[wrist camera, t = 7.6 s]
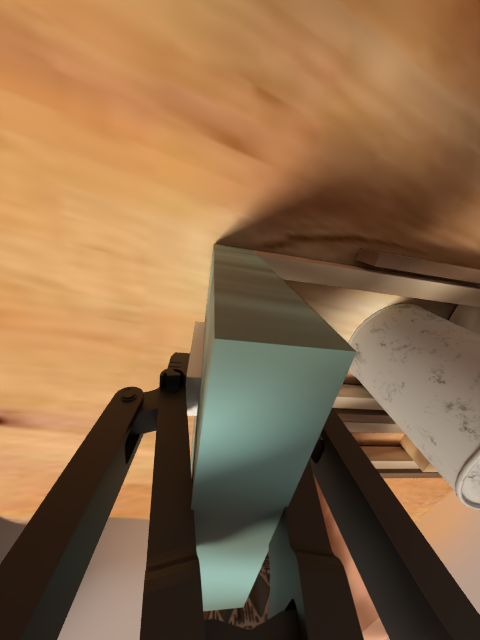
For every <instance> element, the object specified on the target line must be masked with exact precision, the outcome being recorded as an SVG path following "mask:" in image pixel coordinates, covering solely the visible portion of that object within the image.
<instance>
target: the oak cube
mask: <svg viewBox="0 0 480 640" xmlns="http://www.w3.org/2000/svg"><path fill="white" fill-rule="evenodd" d="M399 443H400V444H401V445H402V447H403V448H404V449H405V450H406V452H407V453H408V454H409V455H410V457H411V458H412V459H413V460H414V462H415V463H416V464H417V465H418V467H419V468H420V469H421V470H422V472H438V471H437V470H436V469H435V468H434V467H433V466H432V464H431V463H430V462H429V461H428V460H427V459H426V457H425V456H424V455H423V454H422V453H421V452H420V450H419V449H418V448H417V447H416V446H415V445H414V444H413V442H412V441H411V440H410V439H409V438H408V437H407V435H406V434H405V435H404V436H403V438H402V439H401V441H400V442H399Z"/></svg>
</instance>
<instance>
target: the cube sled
mask: <svg viewBox="0 0 480 640" xmlns="http://www.w3.org/2000/svg"><path fill="white" fill-rule="evenodd" d="M342 422H343V423H344V424H345V426H346V427H347V429H348V430H349V431H350V432H363V433H399V434H405V433H404V432H403V431H402V430H401V428H400V427H399V426H398V425H397V424H396V423H383V422H355V421H342ZM360 447H361V448H362V450H363V451H364V453H365V454H366V455H367V457H368V458H369V460H370V461H371V462H372V464H373V465H374V467H375V468H376V469H420V468H419V467H418V465H417V464H416V463H415V462H414V460H413V459H412V458H411V457H410V455H409V454H408V453H407V452H406V450H405V449H404V448H403V447H377V446H360ZM313 475H314V474H313ZM314 480H315V484H316V488H317V492H318V496H319V500H320V504H321V509H322V513H323V517H324V521H325V525H326V529H327V533H328V538H329V542H330V546H331V549H332V551H333V553H334V555H335V556H337V557H338V558H339V559H340V560H341V562H342V564H343V566H344V569H345V572H346V575H347V578H348V582H349V585H350V589H351V593H352V597H353V600H354V604H355V608H356V612H357V615H358V619H359V623H360V627H361V630H362V634H363V638H364V640H386V639H387V638H389V637H388V635H387V633H386V631H385V628H384V626H383V624H382V622H381V620H380V618H379V616H378V613H377V611H376V609H375V607H374V605H373V602H372V600H371V598H370V596H369V594H368V592H367V589H366V587H365V585H364V583H363V581H362V579H361V576H360V574H359V572H358V570H357V568H356V565H355V563H354V561H353V559H352V557H351V555H350V552H349V550H348V548H347V546H346V544H345V542H344V539H343V537H342V535H341V533H340V531H339V528H338V526H337V524H336V522H335V520H334V518H333V515H332V513H331V511H330V509H329V507H328V504H327V502H326V500H325V498H324V496H323V494H322V491H321V489H320V487H319V485H318V483H317V481H316V478H315V476H314Z"/></svg>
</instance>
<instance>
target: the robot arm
mask: <svg viewBox="0 0 480 640" xmlns="http://www.w3.org/2000/svg"><path fill="white" fill-rule="evenodd" d="M204 332H205V323H203V322H195V327H194V333H193V339H192V345H191V351H190V354H189V353H177V352H175V353H174V354H173V355H172V356H171V358H170V362H169V365H168V369H165V370H164V371H163V372H161V374H160V387H159V388H158V389H156V390H153V391H149V392H143V391H142V390H141V389H140V388H137V387H126V388H123V389H121V390H119V391H118V392H117V393H116V394H115V395H114V397H113V398H112V400H111V401H110V403H109V404H108V405H107V407H106V408H105V410H104V411H103V413H102V414H101V416H100V417H99V419H98V420H97V422H96V423H95V425H94V426H93V428H92V429H91V431H90V432H89V434H88V435H87V437H86V438H85V440H84V441H83V443H82V444H81V446H80V447H79V448H78V450H77V451H76V453H75V454H74V456H73V457H72V459H71V460H70V462H69V463H68V465H67V466H66V468H65V469H64V471H63V472H62V474H61V475H60V477H59V478H58V480H57V481H56V483H55V484H54V486H53V487H52V488H51V490H50V491H49V493H48V494H47V496H46V497H45V499H44V500H43V502H42V503H41V505H40V506H39V508H38V509H37V511H36V512H35V514H34V515H33V517H32V518H31V520H30V521H29V523H28V524H27V526H26V527H25V529H24V530H23V532H22V533H21V534H20V536H19V537H18V539H17V541H16V542H15V543H14V545H13V546H12V548H11V549H10V551H9V552H8V554H7V555H6V557H5V558H4V560H3V561H2V563H1V564H0V640H57V638H58V636H59V634H60V631H61V629H62V626H63V624H64V621H65V619H66V617H67V614H68V612H69V610H70V607H71V605H72V602H73V600H74V598H75V596H76V593H77V591H78V588H79V586H80V583H81V581H82V579H83V577H84V574H85V572H86V569H87V567H88V565H89V562H90V560H91V558H92V555H93V553H94V550H95V548H96V545H97V543H98V541H99V539H100V536H101V534H102V531H103V529H104V527H105V524H106V522H107V519H108V517H109V515H110V512H111V510H112V508H113V505H114V503H115V501H116V498H117V496H118V493H119V491H120V489H121V486H122V484H123V482H124V479H125V477H126V474H127V472H128V470H129V467H130V465H131V463H132V460H133V458H134V455H135V453H136V451H137V448H138V446H139V444H140V441H141V439H142V436H143V434H144V433H148V432H152V431H156V443H155V457H154V470H153V483H152V497H151V510H150V524H149V537H148V550H147V563H146V571H145V580H144V592H143V604H142V617H141V630H140V640H364V638H363V634H362V630H361V627H360V623H359V619H358V615H357V612H356V608H355V604H354V600H353V597H352V593H351V589H350V585H349V582H348V578H347V575H346V572H345V569H344V566H343V564H342V562H341V560H340V559H339V558H338V557H337V556H335V555H334V553H333V551H332V549H331V546H330V542H329V538H328V533H327V529H326V525H325V521H324V517H323V513H322V509H321V504H320V500H319V496H318V492H317V488H316V484H315V480H314V476H315V478H316V481H317V483H318V485H319V487H320V489H321V491H322V494H323V496H324V498H325V500H326V502H327V504H328V507H329V509H330V511H331V513H332V515H333V518H334V520H335V522H336V524H337V526H338V528H339V531H340V533H341V535H342V537H343V539H344V542H345V544H346V546H347V548H348V550H349V552H350V555H351V557H352V559H353V561H354V563H355V565H356V568H357V570H358V572H359V574H360V576H361V579H362V581H363V583H364V585H365V587H366V589H367V592H368V594H369V596H370V598H371V600H372V602H373V605H374V607H375V609H376V611H377V613H378V616H379V618H380V620H381V622H382V624H383V626H384V628H385V631H386V633H387V635H388V637H389V639H390V640H480V615H479V613H477V611H476V609H475V608H474V607H473V605H472V604H471V603H470V601H469V600H468V598H467V597H466V595H465V594H464V592H463V591H462V590H461V588H460V587H459V586H458V584H457V583H456V581H455V580H454V578H453V577H452V576H451V574H450V573H449V572H448V570H447V568H446V567H445V566H444V564H443V563H442V561H441V560H440V559H439V557H438V556H437V554H436V553H435V552H434V550H433V549H432V547H431V546H430V544H429V543H428V542H427V540H426V539H425V538H424V536H423V535H422V533H421V532H420V530H419V529H418V528H417V526H416V525H415V523H414V522H413V520H412V519H411V518H410V516H409V515H408V513H407V512H406V511H405V509H404V508H403V506H402V505H401V503H400V502H399V501H398V499H397V498H396V496H395V495H394V494H393V492H392V491H391V489H390V488H389V487H388V485H387V484H386V482H385V481H384V479H383V478H382V477H381V475H380V474H379V472H378V471H377V470H376V468H375V467H374V465H373V464H372V462H371V461H370V460H369V458H368V457H367V455H366V454H365V453H364V451H363V450H362V448H361V447H360V446H359V444H358V443H357V441H356V440H355V438H354V437H353V436H352V434H351V433H350V431H349V430H348V429H347V427H346V426H345V424H344V423H343V422H342V420H341V419H340V417H339V416H338V414H337V413H336V412H335V410H334V409H333V407H332V409H331V411H330V413H329V416H328V418H327V420H326V422H325V425H324V427H323V429H322V431H321V434H320V436H319V438H318V440H317V443H316V445H315V447H314V449H313V452H312V454H311V456H310V458H309V461H308V463H307V465H306V467H305V470H304V472H303V474H302V476H301V479H300V481H299V483H298V485H297V488H296V490H295V492H294V494H293V497H292V499H291V501H290V503H289V506H288V507H285V508H284V510H283V513H282V515H281V517H280V520H279V522H278V524H277V527H276V529H275V531H274V533H273V536H272V538H271V540H270V543H269V563H270V593H269V604H268V620H266V621H265V622H263V623H261V624H260V625H258V626H256V627H255V628H253V629H245V628H242V627H239V626H235V625H232V624H229V623H226V622H223V621H220V620H217V619H208V620H204V613H203V600H202V586H201V574H200V564H199V558H198V555H197V550H196V537H195V522H194V510H191V502H192V477H191V462H190V447H189V432H188V417H187V416H197V408H198V399H199V391H200V383H201V372H202V359H203V346H204ZM313 474H314V475H313Z"/></svg>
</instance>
